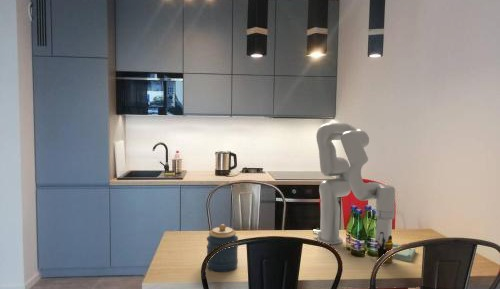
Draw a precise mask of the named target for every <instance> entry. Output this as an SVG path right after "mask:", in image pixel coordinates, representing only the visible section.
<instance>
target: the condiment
mask: <svg viewBox="0 0 500 289" xmlns="http://www.w3.org/2000/svg"><path fill="white" fill-rule="evenodd" d="M383 241H385V240H383ZM393 243H394V242H393V236H392V234H391V235H390V237H389V239H388V242H386V252H387V251H389V250H391V249H393ZM383 244H384V243H383ZM378 245H379V240H378V241H377V246H378ZM376 253H378V250H377V251H376ZM376 255H377V257H371V258H370V260H372V261H373V262H376V263H377V260H378V259H379V258H380V257H378V254H376ZM396 264H398V263H397V262H395V261H393V258H392V256H391V257H390V258H388V259H387V260H386V261H385V262H384V263H383V265H381V266H382V267H385V266H391V265H396Z"/></svg>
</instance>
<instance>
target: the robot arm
mask: <svg viewBox="0 0 500 289" xmlns="http://www.w3.org/2000/svg"><path fill="white" fill-rule="evenodd" d="M315 136H316V137H315V138H316V143H317V149H318V156H319V167H320V173H321V174H322V176H323V177H335V178H330V179H329V178H328V179H325V180H323V181H321V182H320V184H319V186H318V187H319V189H318V192H319V196H320V197H319V198H320V223H319V225H320V228H319V230H318V229H313V230H312V233H313V235H315V236H316V235H317V236H316V240H317V242H319V241H322V242H325V243H327V244H326V245H330V244H331V245H333V246H334V245H340V244H342V243H343V239H342V237H340V223H341V221H340V220H341V219H340V218H341V206H340V202H339V200H338V198H342V197H347V196H348V195H349V194H351V191H352V194H353V196H354V197H355V198H356V199H357V200H359V201H361V202H364V201H365V202H366V201H372V200H375V218H376V227H375V238H374V240H375V241H376V242H378V240H379V245H378V244H377V251H378V257H381V256H382V255H383V254H385V253H386V242H388V239H389V237H390V235H391V236H392V234H393V233H392V232H393V229H392V228H393V226H392V225H393V224H392V223H393V220H394V219H395V207H396V206H395V205H396V203H395V202H396V188H395V187H394V186H393V185H388V184H387V185H386V184H383V183H379V182H377V181H373V182H372V181H371V182H364V179H363V177H362V168H363V167H364V165H366V164H367V162H368V161H369V157H368V155H367V152H366V149H365V148H366V147H367V146H368V145H369V143H370V137H369V135H368V133H367V132H366V131H364V130H362V129H360V128H359V127H356V126H354V125H351V124H349V123H342V122H341V123H338V122H329V123H328V122H327V123H324V124H322V125H320V126H319V128H318V130H317V132H316V135H315ZM332 141H340V142H341V144H342V147H343V150H344V152H345V155H346V158H347V159H346V158H344V157H340V156H339V157H337V150H336V146H335V145H334V143H333V142H332ZM383 240H385V241H383ZM383 243H384V244H383ZM331 245H330V246H331Z"/></svg>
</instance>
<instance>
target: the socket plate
mask: <svg viewBox="0 0 500 289" xmlns="http://www.w3.org/2000/svg"><path fill="white" fill-rule="evenodd" d="M392 243H393V248H394V247H398V246H401V245H402V244H398V243H394V242H392ZM415 254H416V248H415V249H409V250H406V251H402V252H399V253H396V254H395V255H393V256H392V259H396V260H400V261H404V262H405V261H406V262H412V259H413V258H414V255H415Z"/></svg>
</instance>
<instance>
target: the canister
mask: <svg viewBox="0 0 500 289" xmlns="http://www.w3.org/2000/svg"><path fill="white" fill-rule="evenodd" d="M236 234H237V231H236V230H234V229H233V228H232V227H229V226H226V224H224V223H222V224H220V225H219V227H218V226H217V227H213V228H212V229H211V230H210V231H209V232H208V236H207V237H206V241H207V244H206V256H207V255H208V254H209V253H210V252H211V251H212V250H213V249H215V248H216V247H218V246H220V245H222V244H225V243H228V242H232V241H237V242H238V240H239V238H238V237H239V236H237V235H236ZM238 248H239V245H238V246H234V247H230V248H226V249H223V250H221V251H219V252H218V253H216V254H215V255H214V256H213V257H212V258H211V259H210V260H209V262H208V265H207V264H206V266H207V268H208V270H210V271H214V272H217V273H219V272H220V273H224V272H230V271H233V270H234V269H236V268H237V267H238V264H239V262H238V261H239V260H238Z"/></svg>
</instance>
